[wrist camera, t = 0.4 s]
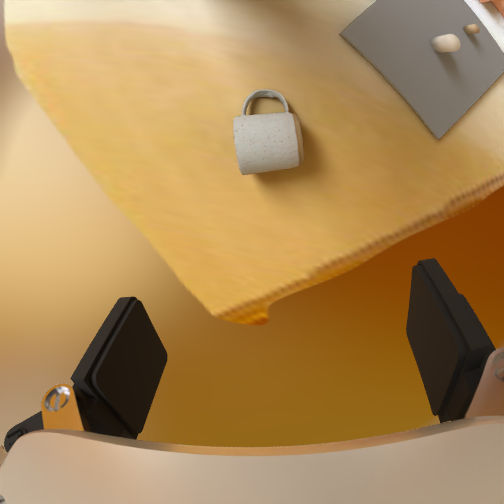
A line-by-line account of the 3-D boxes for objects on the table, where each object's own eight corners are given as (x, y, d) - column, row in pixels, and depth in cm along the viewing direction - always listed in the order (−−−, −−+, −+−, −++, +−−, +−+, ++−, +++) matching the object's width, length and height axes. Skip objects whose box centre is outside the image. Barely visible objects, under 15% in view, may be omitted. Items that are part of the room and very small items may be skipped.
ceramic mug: (303, 160, 43) (307, 173, 36) (245, 167, 44) (238, 182, 38) (292, 85, 38) (295, 84, 32) (232, 94, 40) (222, 95, 33)
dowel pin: (461, 28, 29) (470, 26, 27) (466, 24, 28) (475, 22, 26) (467, 36, 29) (476, 34, 27) (472, 31, 29) (481, 30, 26)
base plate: (339, 34, 34) (347, 27, 29) (423, -37, 25) (438, -48, 20) (435, 138, 39) (452, 146, 34) (506, 64, 30) (527, 65, 26)
